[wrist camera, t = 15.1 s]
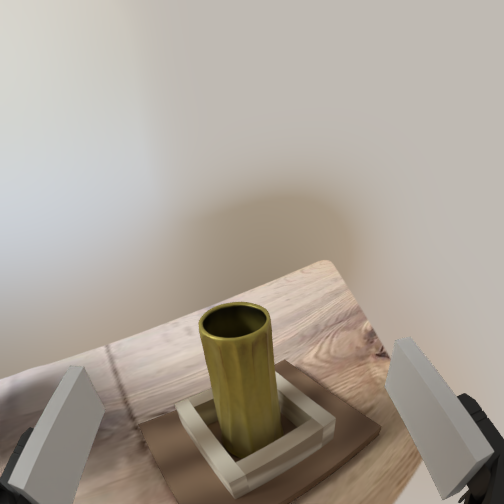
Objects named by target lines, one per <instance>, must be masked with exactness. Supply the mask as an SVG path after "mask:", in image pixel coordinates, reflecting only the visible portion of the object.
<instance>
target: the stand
mask: <svg viewBox="0 0 504 504" xmlns="http://www.w3.org/2000/svg"><path fill="white" fill-rule="evenodd" d="M275 374H276V382H277V392H278V399H279V406H280V414H281V425H282V428H283V433H284V434H283V437H281V438H280V439H278V440H276V441H274V442H273V443H271V444H269V445H267V446H266V447H264V448H262V449H260V450H259V451H257V452H255V453H253V454H251V455H249V456H247V457H246V458H244V459H243V458H239V457H237V456H235V455H233V454H232V453H230V452H229V451H228V450H227V449H226V448H225V447H224V445H223V443H222V436H221V429H220V425H219V421H218V417H217V412H216V408H215V403H214V398H213V393H212V388H211V389H208V390H206V391H204V392H201V393H199V394H197V395H194V396H192V397H190V398H187V399H185V400H182V401H180V402H177V403H175V404H174V405H175V407H176V410H175V411H173V412H170V413H168V414H165V415H162V416H160V417H157V418H154V419H152V420H149V421H146V422H144V423H141V424H138V425H139V427H140V430H141V432H142V434H143V436H144V438H145V441H146V443H147V445H148V447H149V449H150V451H151V453H152V455H153V457H154V459H155V461H156V463H157V465H158V467H159V469H160V471H161V473H162V475H163V477H164V479H165V480H166V482H167V484H168V486H169V488H170V489H171V491H172V493H173V495H174V497H175V498H176V500H177V502H178V503H179V504H288V503H290V502H291V501H293V500H295V499H296V498H298V497H299V496H301V495H302V494H304V493H305V492H307V491H308V490H310V489H311V488H313V487H314V486H316V485H317V484H318V483H320V482H321V481H323V480H324V479H325V478H327V477H328V476H329V475H331V474H332V473H333V472H335V471H336V470H337V469H339V468H340V467H341V466H342V465H344V464H345V463H346V462H347V461H349V460H350V459H351V458H352V457H354V456H355V455H356V454H357V453H358V452H360V451H361V450H362V449H363V448H364V447H365V446H367V445H368V444H369V443H370V442H371V441H372V440H373V439H375V438H376V437H377V436H378V435H379V432H380V429H381V426H380V425H378V424H377V423H375V422H374V421H372V420H371V419H369V418H368V417H366V416H365V415H363V414H362V413H360V412H359V411H357V410H356V409H354V408H353V407H351V406H350V405H348V404H347V403H345V402H344V401H342V400H341V399H339V398H338V397H336V396H335V395H334V394H332V393H331V392H329V391H328V390H326V389H325V388H324V387H322V386H321V385H319V384H318V383H316V382H315V381H314V380H312V379H311V378H309V377H308V376H307V375H305V374H304V373H302V372H301V371H300V370H298V369H297V368H296V367H294V366H293V365H292V364H290V363H289V362H287V361H286V360H283V361H281V362H279V363H277V364H275Z"/></svg>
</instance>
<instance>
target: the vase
mask: <svg viewBox="0 0 504 504" xmlns="http://www.w3.org/2000/svg"><path fill="white" fill-rule="evenodd" d="M199 333H200V338H201V342H202V346H203V350H204V355H205V360H206V364H207V368H208V372H209V376H210V381H211V387H212V393H213V398H214V403H215V408H216V412H217V417H218V421H219V425H220V429H221V436H222V443H223V445H224V447H225V448H226V449H227V450H228V451H229V452H230V453H232V454H233V455H235V456H237V457H239V458H243V459H244V458H246V457H247V456H249V455H251V454H253V453H255V452H257V451H259V450H260V449H262V448H264V447H266V446H267V445H269V444H271V443H273V442H274V441H276V440H278V439H280V438H281V437H283V434H284V433H283V428H282V425H281V414H280V406H279V399H278V392H277V382H276V374H275V365H274V354H273V341H272V327H271V319H270V315H269V313H268V311H267V310H266V309H265V308H263V307H262V306H260V305H257V304H253V303H248V302H232V303H226V304H222V305H218V306H216V307H214V308H212V309H210V310H208V311H207V312H206V313H204V315H203V316H202V317H201V318H200V320H199Z"/></svg>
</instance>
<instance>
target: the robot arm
mask: <svg viewBox="0 0 504 504" xmlns="http://www.w3.org/2000/svg"><path fill="white" fill-rule="evenodd" d="M385 388H386V390H387V392H388V394H389V396H390V398H391V399H392V401H393V403H394V405H395V407H396V409H397V411H398V412H399V414H400V416H401V418H402V420H403V422H404V424H405V426H406V427H407V429H408V431H409V433H410V435H411V437H412V439H413V441H414V443H415V445H416V447H417V449H418V451H419V453H420V455H421V457H422V459H423V461H424V463H425V465H426V467H427V469H428V471H429V473H430V475H431V477H432V479H433V481H434V483H435V485H436V487H437V489H438V491H439V493H440V496H441V498H442V500H444V499H447V498H448V497H450V496H453V495H454V494H456V493H458V492H460V491H461V490H462V489H463V488H464V487H465V485H467V486H468V488H469V490H468V491H467V492H466V493H465V494H464V495H463V496H462V497H461V498H460V500H459V501H458V503H461V502H462V501H463V500H464V499H465V501H464V504H504V439H503V437H502V436H501V435H500V433H499V432H498V430H497V429H496V428H495V426H494V425H493V423H492V422H491V421H490V419H489V418H487V415H486V414H485V412H484V411H482V409H481V407H480V406H479V404H478V403H477V402H476V400H475V399H473V398H472V397H470V396H468V395H467V394H465V393H464V394H461V395H459V396H457V397H456V395H455V394H454V393H453V391H452V390H451V389H450V387H449V386H448V385H447V383H446V382H445V381H444V379H443V378H442V376H441V375H440V374H439V373H438V372H437V370H436V369H435V367H434V366H433V365H432V363H431V362H430V361H429V360H428V358H427V357H426V356H425V355H424V353H423V352H422V351H421V349H420V348H419V347H418V346H417V345H416V343H415V342H414V341H413V339H412V338H411V337H407V338H403V339H398V340H395V343H394V348H393V353H392V358H391V362H390V366H389V371H388V375H387V379H386V383H385ZM105 410H106V409H105V407H104V406H103V404H102V402H101V400H100V398H99V396H98V394H97V392H96V390H95V388H94V387H93V385H92V383H91V380H90V378H89V376H88V374H87V372H86V370H85V368H84V367H82V366H70V367H69V368H68V370H67V372H66V373H65V375H64V377H63V378H62V380H61V382H60V383H59V385H58V387H57V388H56V390H55V392H54V394H53V395H52V397H51V399H50V401H49V402H48V404H47V406H46V408H45V410H44V411H43V413H42V415H41V417H40V419H39V420H38V422H37V424H36V426H35V428H31V427H30V428H29V429H28V430H27V431H26V432H25V433H23V434H22V436H21V438H20V440H19V442H18V443H17V446H16V447H15V449H14V451H13V452H14V453H12V455H11V457H10V459H9V461H8V463H7V465H6V467H5V469H4V472H3V474H2V476H1V478H0V504H73V501H74V498H75V494H76V491H77V488H78V485H79V482H80V479H81V476H82V473H83V470H84V467H85V464H86V461H87V458H88V455H89V453H90V450H91V447H92V444H93V442H94V439H95V436H96V433H97V431H98V428H99V425H100V423H101V420H102V418H103V415H104V412H105Z"/></svg>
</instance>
